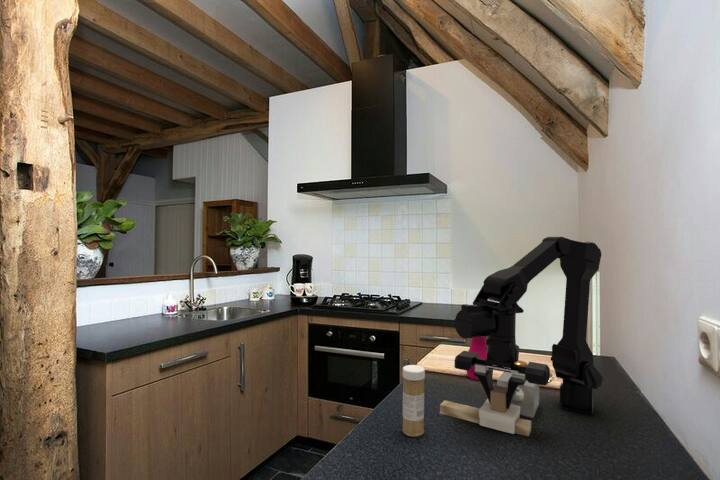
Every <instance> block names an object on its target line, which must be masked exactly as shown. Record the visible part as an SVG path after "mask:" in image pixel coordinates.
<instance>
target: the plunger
mask: <svg viewBox="0 0 720 480" xmlns="http://www.w3.org/2000/svg"><path fill="white" fill-rule="evenodd" d="M515 364H517V365H523V366H527V364H528V362H526V361H523V360H519V359H518V361H517V362H515Z"/></svg>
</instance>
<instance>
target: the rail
mask: <svg viewBox="0 0 720 480" xmlns="http://www.w3.org/2000/svg"><path fill="white" fill-rule="evenodd" d="M479 409H480V408H479V407H476V406H470V405H466V404H461V403H457V402H453V401H450V400H445V399H444V400H443V402H441V403H440V404H439V414H440V415H444V416H448V417H451V418H456V419H460V420H463V421H468V422H471V423H475V424H479V425H480V417H479ZM531 432H532V420H529V419H524V418H520V417H519V418H517V420H516V422H515V433H514V434H518V435H521V436H525V437H530V434H531Z"/></svg>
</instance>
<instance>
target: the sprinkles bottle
mask: <svg viewBox="0 0 720 480" xmlns="http://www.w3.org/2000/svg"><path fill="white" fill-rule="evenodd" d="M425 378H426V369H425V367H423V366H421V365H417V364H408V365H404V366H403V367H402V379H403V380H402V382H403V384H402V385H403V386H402V429H401V430H402V432H403V434H405V436H408V437H413V438H414V437H415V438H416V437H421V436H422V435H424V433H425V428H424V419H425Z"/></svg>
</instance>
